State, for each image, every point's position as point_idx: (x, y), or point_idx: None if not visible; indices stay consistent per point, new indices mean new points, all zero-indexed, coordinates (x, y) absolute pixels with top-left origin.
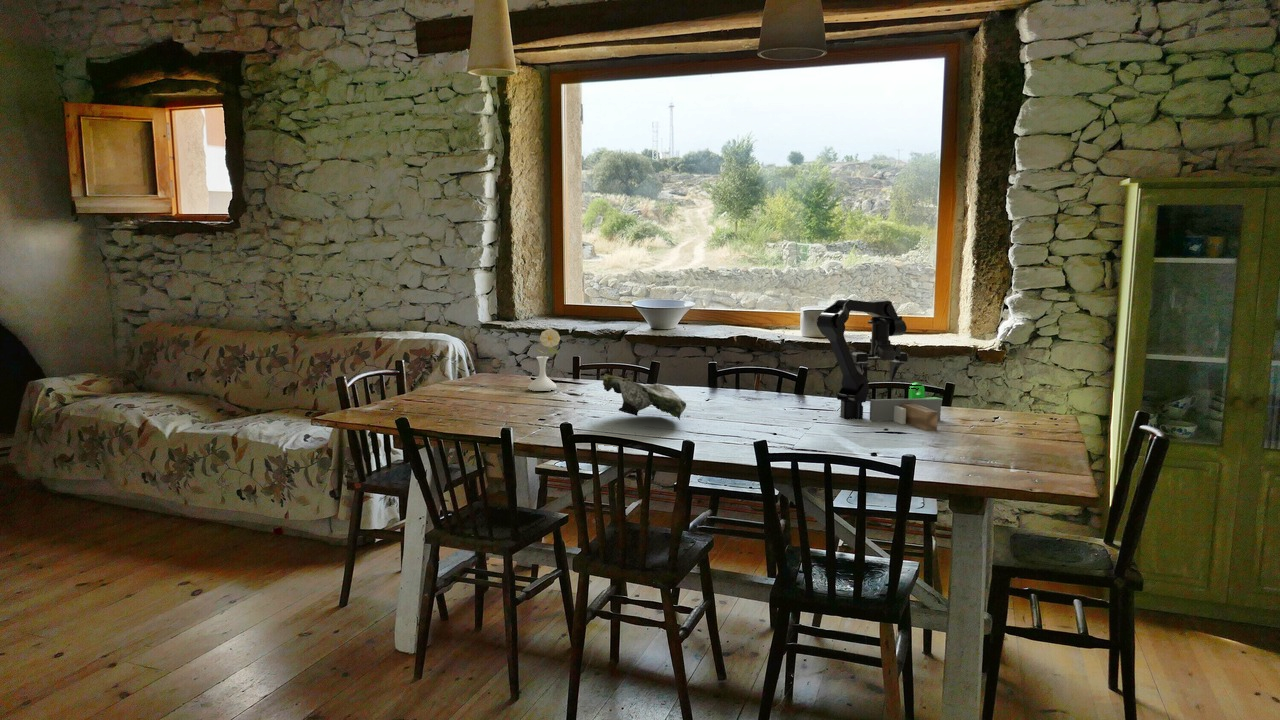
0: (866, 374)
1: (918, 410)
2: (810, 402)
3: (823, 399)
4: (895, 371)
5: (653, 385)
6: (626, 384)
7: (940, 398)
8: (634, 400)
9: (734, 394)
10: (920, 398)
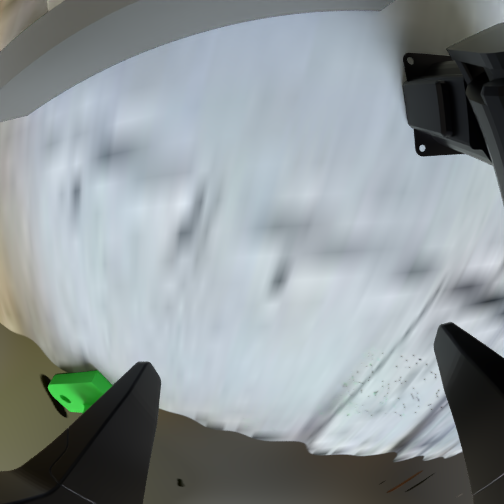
0: (501, 376)
1: None
2: (431, 399)
3: (369, 435)
4: (65, 441)
5: None
6: None
7: (55, 397)
8: None
9: None
10: (11, 79)
